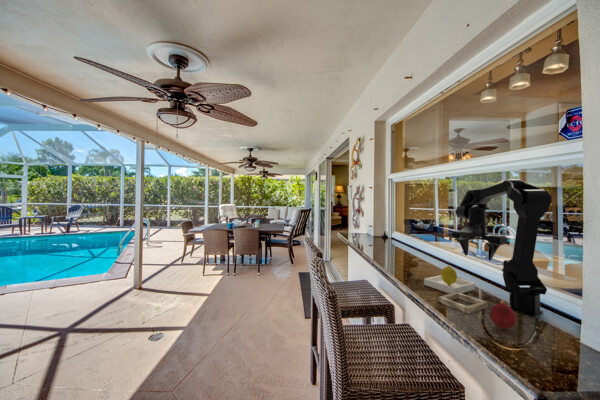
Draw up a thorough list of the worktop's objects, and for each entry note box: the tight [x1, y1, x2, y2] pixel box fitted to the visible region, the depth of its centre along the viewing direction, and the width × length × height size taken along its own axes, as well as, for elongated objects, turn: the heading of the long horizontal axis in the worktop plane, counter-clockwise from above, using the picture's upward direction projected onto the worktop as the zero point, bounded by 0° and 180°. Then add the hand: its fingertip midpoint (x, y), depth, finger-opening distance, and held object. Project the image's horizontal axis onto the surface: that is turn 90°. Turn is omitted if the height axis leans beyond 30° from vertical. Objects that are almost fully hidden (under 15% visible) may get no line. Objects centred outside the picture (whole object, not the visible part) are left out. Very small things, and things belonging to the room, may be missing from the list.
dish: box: [423, 274, 476, 294], centre depth 102 cm, size 13×13×3 cm
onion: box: [489, 299, 517, 330], centre depth 69 cm, size 6×6×8 cm
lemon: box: [440, 265, 458, 285], centre depth 102 cm, size 6×6×8 cm
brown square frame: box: [437, 292, 489, 315], centre depth 85 cm, size 10×10×2 cm
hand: (477, 257), depth 102 cm, fingers open, 9 cm apart
